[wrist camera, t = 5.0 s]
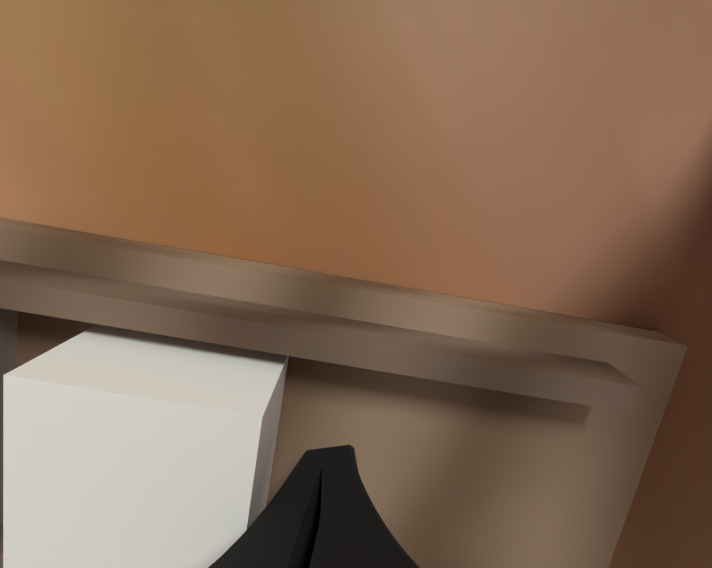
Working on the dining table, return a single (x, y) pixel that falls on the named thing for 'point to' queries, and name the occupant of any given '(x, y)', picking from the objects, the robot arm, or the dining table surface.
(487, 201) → the dining table surface
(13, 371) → the white block with bar
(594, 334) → the gauge board
